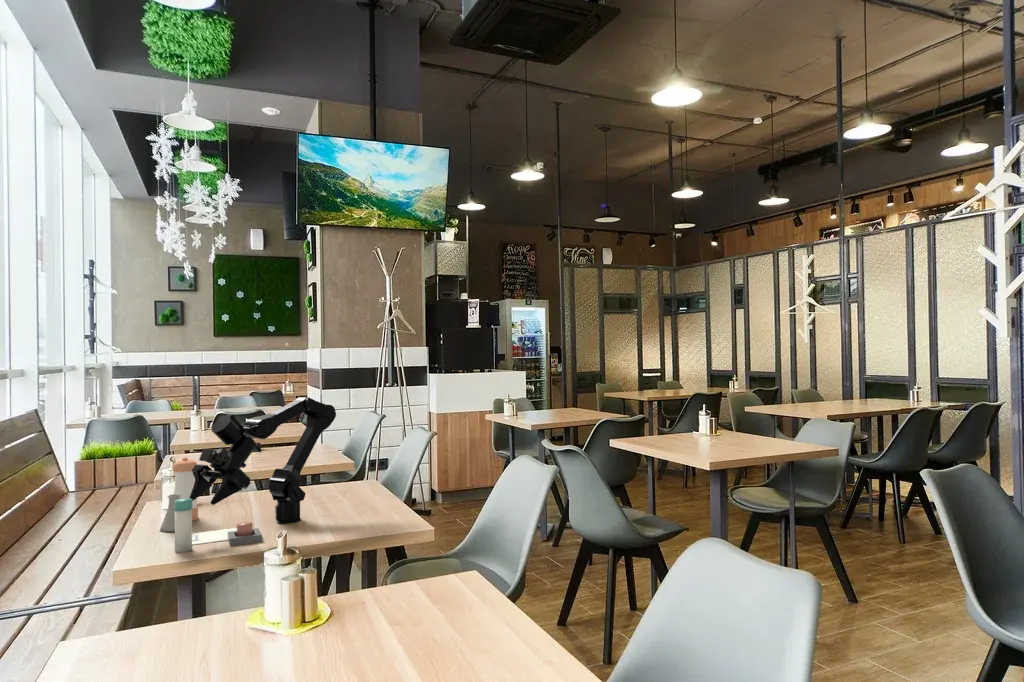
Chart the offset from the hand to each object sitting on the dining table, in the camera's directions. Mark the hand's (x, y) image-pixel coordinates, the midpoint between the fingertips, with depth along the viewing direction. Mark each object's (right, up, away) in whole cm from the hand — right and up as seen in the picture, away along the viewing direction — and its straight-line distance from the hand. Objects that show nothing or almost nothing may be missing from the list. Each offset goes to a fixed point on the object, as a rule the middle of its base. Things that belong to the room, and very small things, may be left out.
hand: (200, 502), depth 173 cm
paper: (-1, -12, +8) cm, 14 cm away
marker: (-2, -11, -5) cm, 13 cm away
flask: (-16, -12, +17) cm, 26 cm away
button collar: (+10, -11, +4) cm, 16 cm away
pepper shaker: (-18, -13, +28) cm, 35 cm away
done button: (+10, -10, +4) cm, 15 cm away
